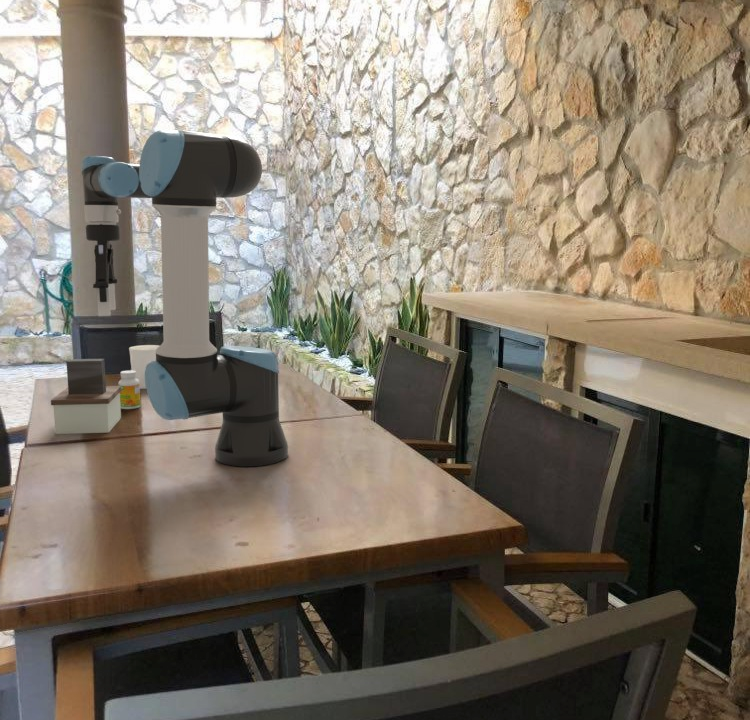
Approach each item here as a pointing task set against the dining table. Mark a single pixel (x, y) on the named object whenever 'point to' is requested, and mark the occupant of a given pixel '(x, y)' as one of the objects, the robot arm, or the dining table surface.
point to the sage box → (87, 417)
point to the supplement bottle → (129, 390)
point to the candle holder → (142, 360)
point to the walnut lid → (86, 384)
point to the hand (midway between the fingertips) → (107, 312)
